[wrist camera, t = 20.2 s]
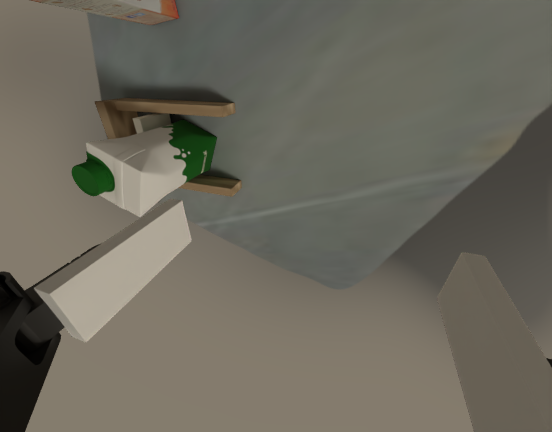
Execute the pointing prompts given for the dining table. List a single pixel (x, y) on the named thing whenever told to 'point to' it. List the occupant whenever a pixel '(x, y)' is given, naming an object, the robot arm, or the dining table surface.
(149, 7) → the cracker box
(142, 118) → the block
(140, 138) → the soya milk
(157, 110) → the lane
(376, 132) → the dining table surface
